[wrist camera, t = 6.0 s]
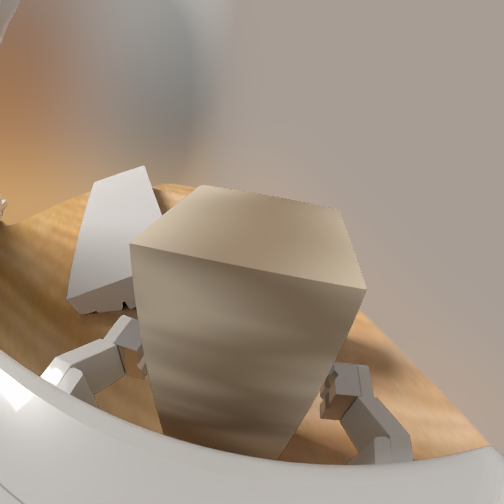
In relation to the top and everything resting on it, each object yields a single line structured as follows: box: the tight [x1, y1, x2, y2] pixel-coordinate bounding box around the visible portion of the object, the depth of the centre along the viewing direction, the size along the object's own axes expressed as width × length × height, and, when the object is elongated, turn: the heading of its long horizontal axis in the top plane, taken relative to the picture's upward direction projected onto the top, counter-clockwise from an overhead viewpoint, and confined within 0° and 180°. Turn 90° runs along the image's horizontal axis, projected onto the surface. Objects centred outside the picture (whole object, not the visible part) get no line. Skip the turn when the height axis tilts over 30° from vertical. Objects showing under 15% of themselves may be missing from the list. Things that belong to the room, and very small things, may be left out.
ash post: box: [129, 185, 367, 460], centre depth 10 cm, size 4×4×13 cm
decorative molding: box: [66, 166, 162, 315], centre depth 35 cm, size 34×5×10 cm
